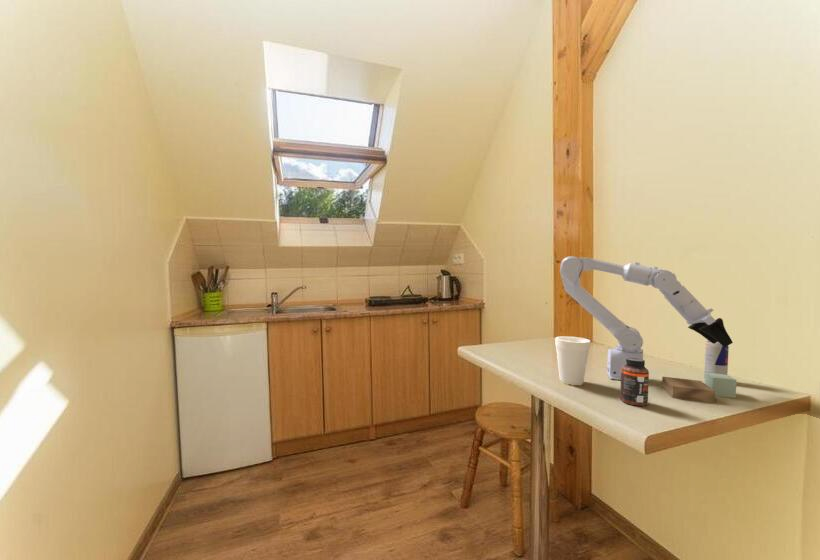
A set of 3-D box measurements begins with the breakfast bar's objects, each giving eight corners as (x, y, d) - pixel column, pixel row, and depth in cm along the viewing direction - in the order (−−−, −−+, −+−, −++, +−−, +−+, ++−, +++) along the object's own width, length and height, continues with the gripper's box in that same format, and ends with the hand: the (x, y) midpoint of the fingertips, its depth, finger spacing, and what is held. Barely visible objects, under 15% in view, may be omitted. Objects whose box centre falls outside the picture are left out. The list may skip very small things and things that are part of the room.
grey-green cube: (712, 395, 94) (713, 377, 94) (704, 389, 99) (705, 372, 99) (735, 398, 93) (736, 379, 92) (726, 392, 97) (727, 374, 97)
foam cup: (596, 386, 100) (597, 342, 100) (569, 388, 98) (570, 343, 97) (573, 376, 109) (574, 335, 109) (547, 378, 107) (549, 336, 107)
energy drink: (731, 384, 104) (733, 344, 104) (711, 382, 105) (712, 343, 105) (719, 378, 109) (721, 341, 109) (700, 377, 110) (701, 340, 110)
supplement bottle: (648, 409, 84) (650, 363, 84) (620, 403, 87) (621, 359, 87) (647, 401, 89) (648, 358, 89) (620, 396, 92) (621, 354, 92)
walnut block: (672, 398, 92) (673, 386, 92) (662, 388, 100) (662, 376, 100) (714, 404, 89) (715, 391, 89) (700, 393, 97) (700, 380, 97)
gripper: (708, 295, 93) (750, 337, 89) (690, 296, 106) (725, 333, 102) (683, 310, 95) (722, 352, 91) (668, 309, 108) (702, 346, 104)
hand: (722, 343), depth 97 cm, fingers open, 7 cm apart
